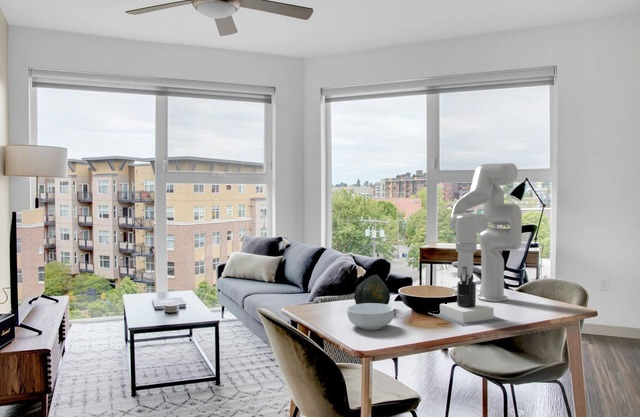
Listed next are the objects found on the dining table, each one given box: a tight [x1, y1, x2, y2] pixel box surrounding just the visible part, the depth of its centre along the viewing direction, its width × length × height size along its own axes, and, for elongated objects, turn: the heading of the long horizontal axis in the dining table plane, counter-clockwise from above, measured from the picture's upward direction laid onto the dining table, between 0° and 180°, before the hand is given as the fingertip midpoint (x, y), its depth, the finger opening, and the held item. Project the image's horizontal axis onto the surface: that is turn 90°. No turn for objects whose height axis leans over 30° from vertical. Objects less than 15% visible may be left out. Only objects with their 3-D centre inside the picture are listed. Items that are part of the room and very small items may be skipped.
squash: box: [353, 274, 391, 305], centre depth 209 cm, size 14×15×15 cm
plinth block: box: [439, 301, 495, 323], centre depth 194 cm, size 14×14×4 cm
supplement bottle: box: [456, 274, 477, 308], centre depth 194 cm, size 7×7×12 cm
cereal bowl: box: [346, 303, 395, 331], centre depth 183 cm, size 17×17×7 cm
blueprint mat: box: [428, 312, 508, 327], centre depth 195 cm, size 22×20×1 cm
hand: (466, 292), depth 194 cm, fingers open, 9 cm apart
